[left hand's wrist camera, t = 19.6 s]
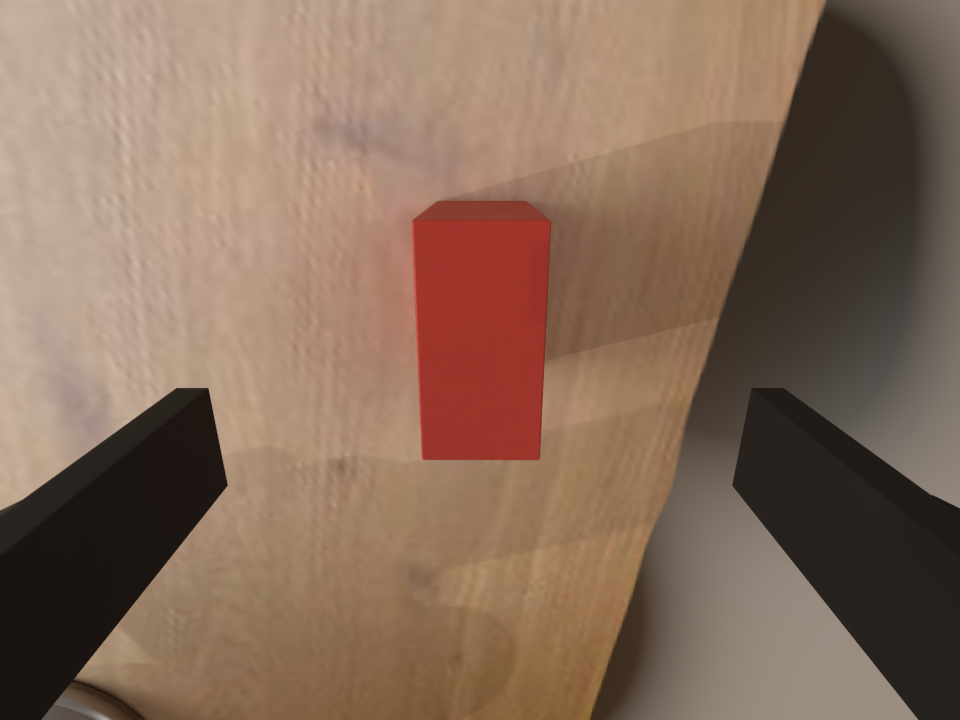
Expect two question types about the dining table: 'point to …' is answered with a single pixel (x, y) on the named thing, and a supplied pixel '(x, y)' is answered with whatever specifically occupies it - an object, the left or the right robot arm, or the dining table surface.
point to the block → (481, 328)
